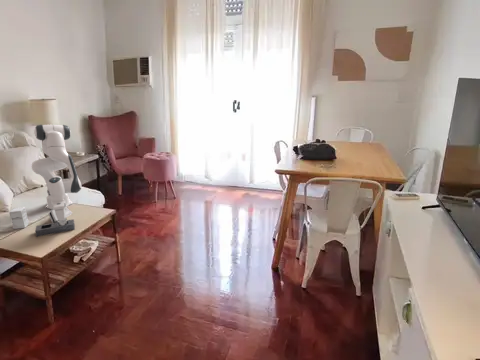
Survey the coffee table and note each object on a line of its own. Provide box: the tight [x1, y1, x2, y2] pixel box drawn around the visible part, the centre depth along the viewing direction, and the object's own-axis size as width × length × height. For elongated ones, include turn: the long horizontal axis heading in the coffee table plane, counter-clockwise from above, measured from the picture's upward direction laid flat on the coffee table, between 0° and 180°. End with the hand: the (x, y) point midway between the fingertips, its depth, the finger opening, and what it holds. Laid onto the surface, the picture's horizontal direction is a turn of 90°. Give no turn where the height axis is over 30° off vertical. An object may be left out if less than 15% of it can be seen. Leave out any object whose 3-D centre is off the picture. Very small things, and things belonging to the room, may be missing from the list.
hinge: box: [48, 206, 73, 223], centre depth 242 cm, size 17×5×10 cm, turn 172°
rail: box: [34, 219, 76, 238], centre depth 223 cm, size 8×22×4 cm, turn 115°
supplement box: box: [9, 206, 30, 230], centre depth 230 cm, size 7×7×13 cm
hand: (63, 222), depth 224 cm, fingers open, 8 cm apart
